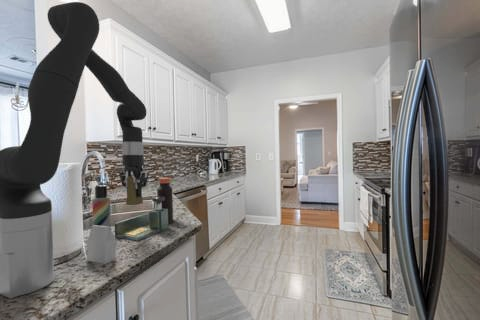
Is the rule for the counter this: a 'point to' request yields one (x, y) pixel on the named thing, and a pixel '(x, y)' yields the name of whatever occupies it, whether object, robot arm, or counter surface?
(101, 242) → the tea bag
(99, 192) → the lotion bottle
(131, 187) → the cork
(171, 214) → the vinegar
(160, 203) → the ram
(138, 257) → the counter surface
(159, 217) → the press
